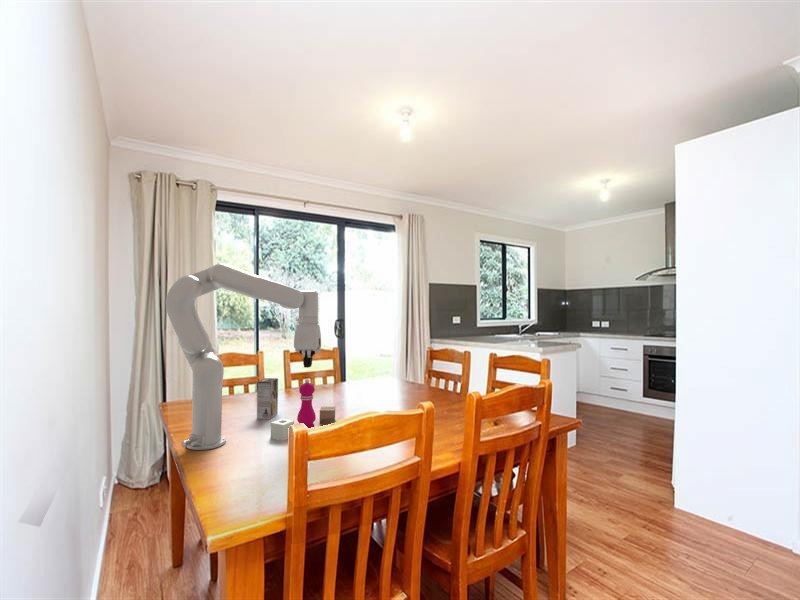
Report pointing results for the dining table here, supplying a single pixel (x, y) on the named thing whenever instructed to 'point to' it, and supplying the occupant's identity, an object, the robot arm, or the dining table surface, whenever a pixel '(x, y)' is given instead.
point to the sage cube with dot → (280, 429)
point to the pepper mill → (306, 404)
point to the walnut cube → (327, 415)
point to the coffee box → (267, 398)
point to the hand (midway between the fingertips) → (307, 366)
